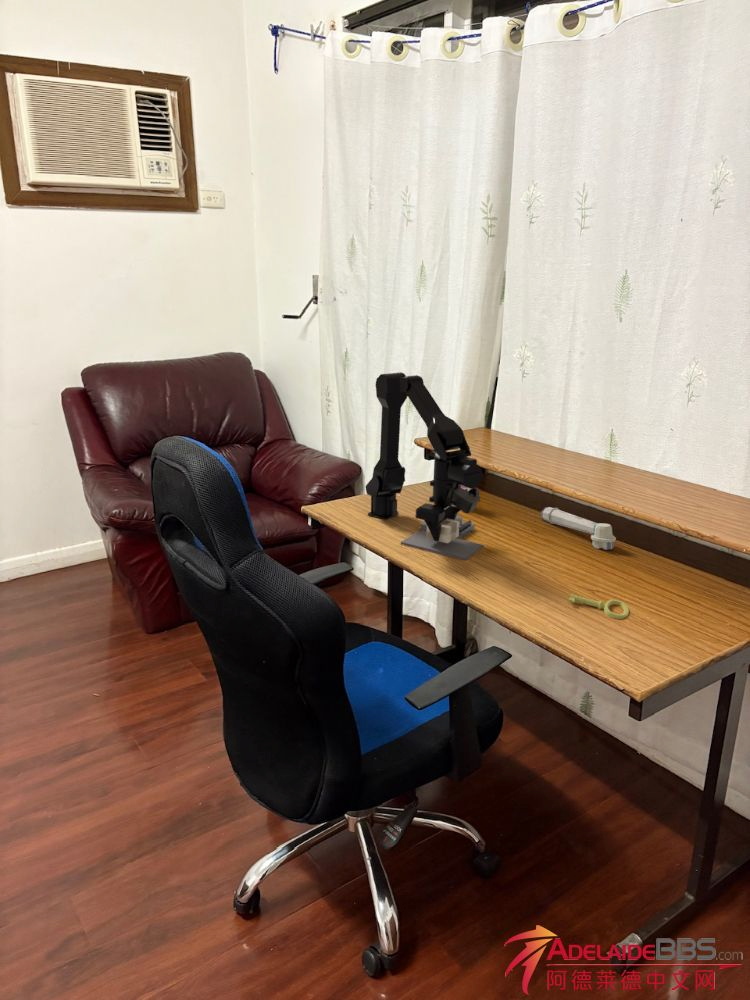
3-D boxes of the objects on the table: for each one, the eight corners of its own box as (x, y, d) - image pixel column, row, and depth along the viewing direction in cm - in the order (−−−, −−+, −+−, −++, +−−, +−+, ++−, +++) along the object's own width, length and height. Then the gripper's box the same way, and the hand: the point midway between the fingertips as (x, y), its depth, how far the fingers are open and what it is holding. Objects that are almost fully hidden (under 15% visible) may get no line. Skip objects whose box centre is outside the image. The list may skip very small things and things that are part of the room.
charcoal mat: (400, 544, 183) (400, 541, 182) (420, 532, 191) (420, 530, 190) (466, 560, 174) (466, 558, 173) (483, 547, 182) (483, 544, 182)
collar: (426, 538, 181) (426, 523, 179) (437, 530, 185) (438, 516, 184) (447, 543, 178) (448, 528, 176) (458, 535, 182) (459, 520, 181)
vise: (420, 529, 193) (421, 502, 190) (434, 520, 199) (435, 494, 197) (461, 538, 187) (462, 511, 184) (474, 529, 193) (476, 502, 191)
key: (565, 601, 155) (566, 592, 154) (625, 605, 154) (626, 596, 153) (571, 617, 148) (572, 608, 147) (633, 621, 147) (634, 612, 146)
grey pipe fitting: (553, 504, 202) (620, 521, 180) (553, 528, 203) (620, 547, 181) (538, 507, 200) (604, 524, 178) (538, 530, 201) (604, 551, 179)
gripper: (458, 493, 165) (454, 556, 170) (491, 473, 180) (487, 532, 185) (415, 484, 170) (413, 546, 176) (451, 466, 185) (448, 523, 191)
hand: (442, 536), depth 181 cm, fingers closed on collar, 6 cm apart
